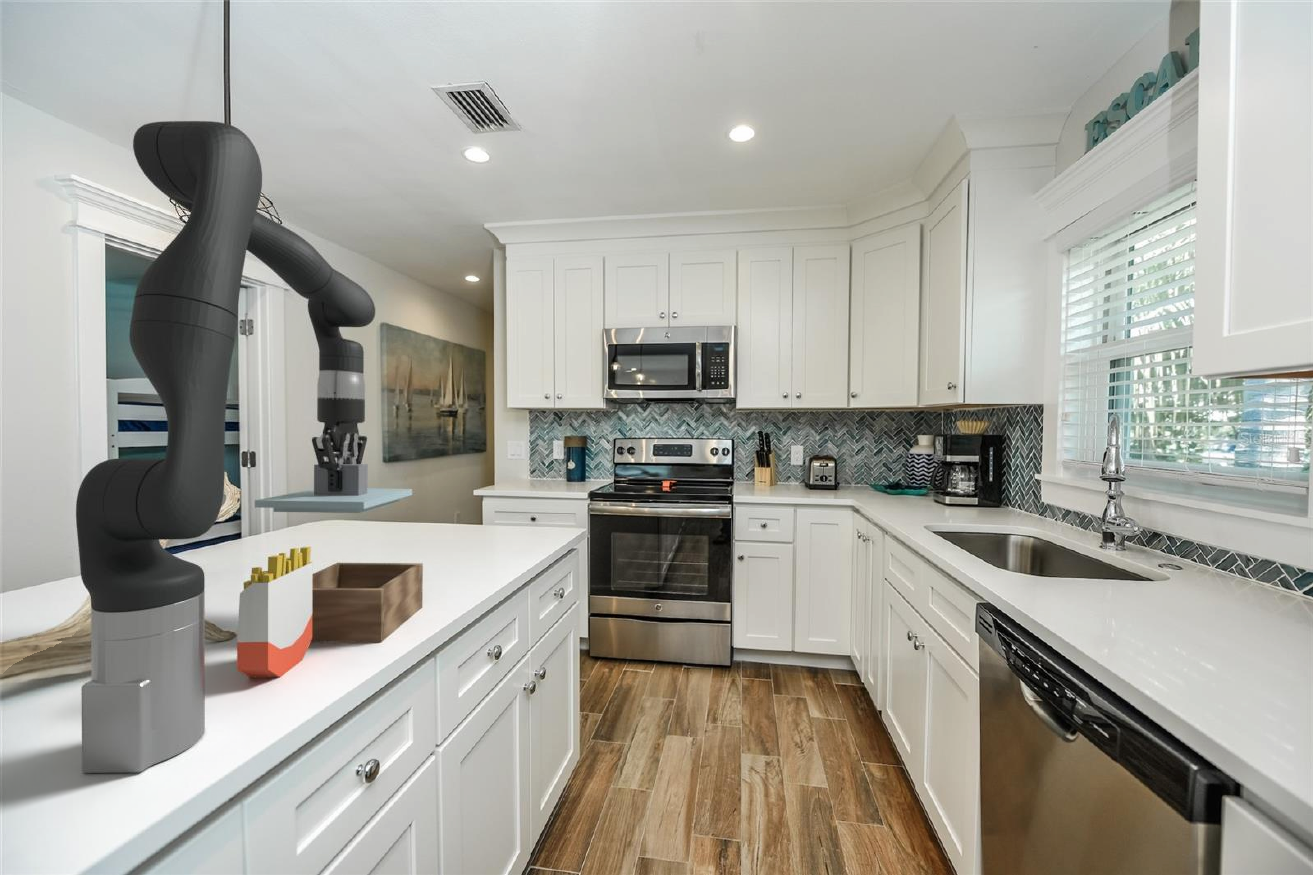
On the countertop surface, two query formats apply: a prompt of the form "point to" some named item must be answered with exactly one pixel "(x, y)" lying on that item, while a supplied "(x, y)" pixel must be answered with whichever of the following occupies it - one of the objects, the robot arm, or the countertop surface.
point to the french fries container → (276, 616)
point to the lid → (336, 494)
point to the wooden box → (364, 600)
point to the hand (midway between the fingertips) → (341, 489)
